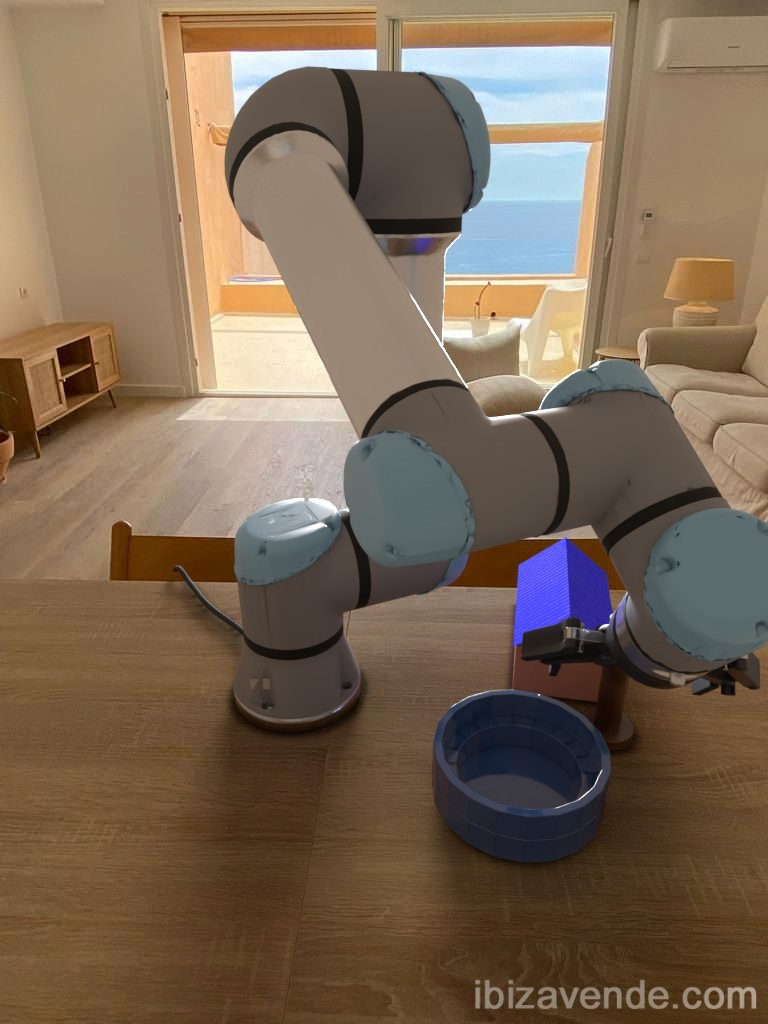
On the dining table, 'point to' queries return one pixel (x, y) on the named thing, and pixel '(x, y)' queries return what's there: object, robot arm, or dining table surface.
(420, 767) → the dining table surface
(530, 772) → the bowl
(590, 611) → the house
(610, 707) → the muddler
